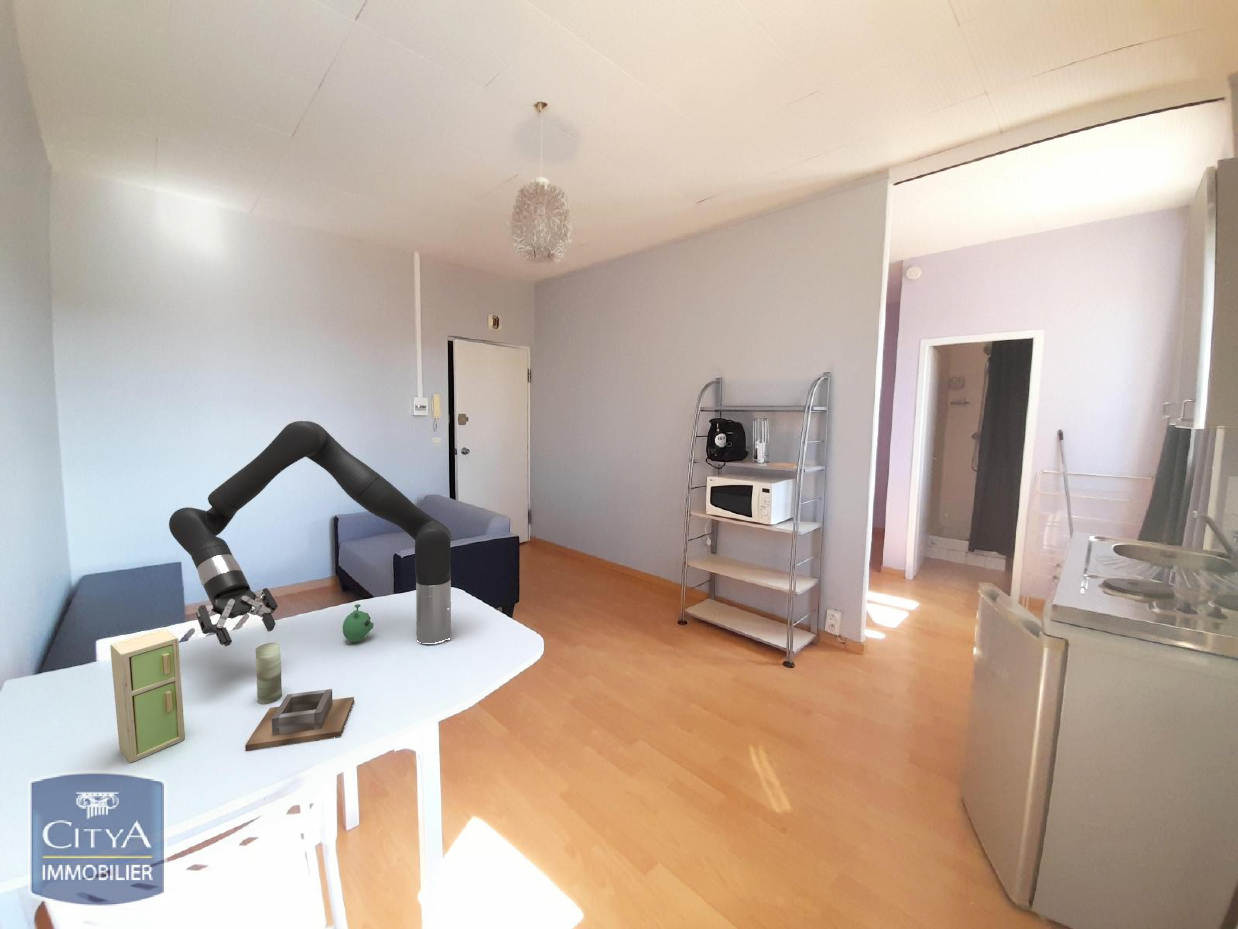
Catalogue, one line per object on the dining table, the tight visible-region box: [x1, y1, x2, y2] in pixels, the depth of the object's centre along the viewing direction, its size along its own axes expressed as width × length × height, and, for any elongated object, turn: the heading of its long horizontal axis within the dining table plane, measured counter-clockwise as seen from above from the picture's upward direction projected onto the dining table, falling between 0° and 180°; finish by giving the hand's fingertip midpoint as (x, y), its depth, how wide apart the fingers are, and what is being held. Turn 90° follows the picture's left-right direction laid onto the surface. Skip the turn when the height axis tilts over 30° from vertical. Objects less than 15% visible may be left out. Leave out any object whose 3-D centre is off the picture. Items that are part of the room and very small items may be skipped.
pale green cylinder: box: [255, 642, 283, 705], centre depth 106 cm, size 4×4×12 cm
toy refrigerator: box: [109, 628, 186, 764], centre depth 90 cm, size 8×7×21 cm
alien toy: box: [342, 603, 375, 643], centre depth 134 cm, size 7×8×10 cm
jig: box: [244, 688, 355, 752], centre depth 98 cm, size 16×12×5 cm
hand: (251, 636), depth 109 cm, fingers open, 8 cm apart
